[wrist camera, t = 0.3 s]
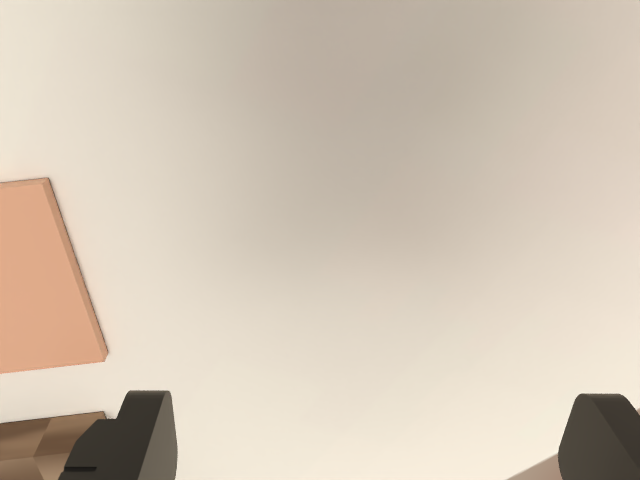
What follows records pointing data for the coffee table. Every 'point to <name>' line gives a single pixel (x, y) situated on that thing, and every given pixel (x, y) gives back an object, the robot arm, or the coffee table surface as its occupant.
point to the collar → (40, 445)
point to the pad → (41, 286)
